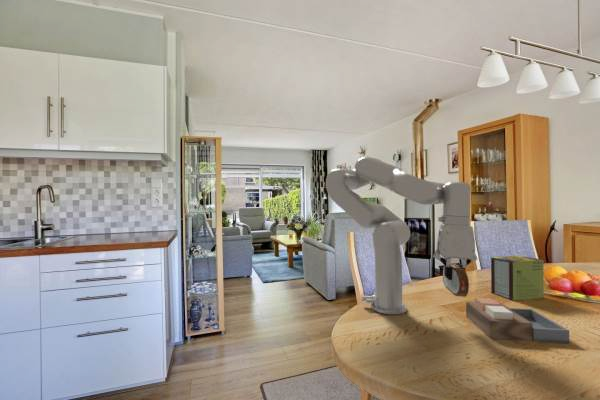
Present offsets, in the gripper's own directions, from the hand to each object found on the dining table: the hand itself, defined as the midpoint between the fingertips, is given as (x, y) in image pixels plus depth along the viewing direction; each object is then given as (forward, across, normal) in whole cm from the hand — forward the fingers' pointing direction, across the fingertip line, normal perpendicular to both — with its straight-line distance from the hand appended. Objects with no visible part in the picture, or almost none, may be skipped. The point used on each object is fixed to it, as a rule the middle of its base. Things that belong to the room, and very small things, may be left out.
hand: (454, 278), depth 93 cm
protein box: (+15, +37, +33) cm, 52 cm away
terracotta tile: (+9, +11, +3) cm, 15 cm away
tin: (+4, 0, 0) cm, 4 cm away
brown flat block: (+14, +12, -1) cm, 19 cm away
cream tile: (+9, +11, -4) cm, 15 cm away
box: (+14, +23, -1) cm, 27 cm away
